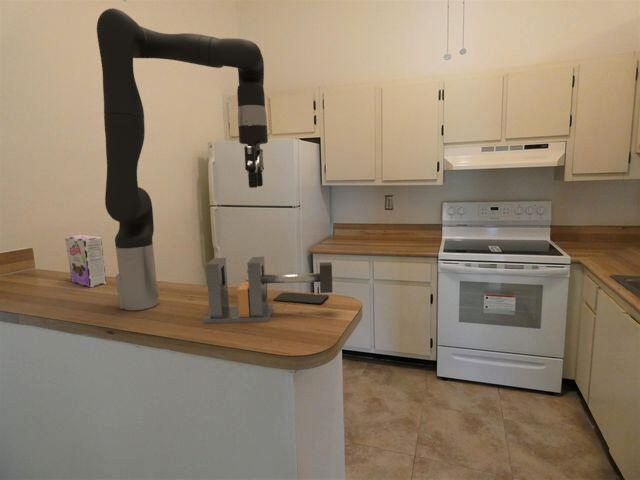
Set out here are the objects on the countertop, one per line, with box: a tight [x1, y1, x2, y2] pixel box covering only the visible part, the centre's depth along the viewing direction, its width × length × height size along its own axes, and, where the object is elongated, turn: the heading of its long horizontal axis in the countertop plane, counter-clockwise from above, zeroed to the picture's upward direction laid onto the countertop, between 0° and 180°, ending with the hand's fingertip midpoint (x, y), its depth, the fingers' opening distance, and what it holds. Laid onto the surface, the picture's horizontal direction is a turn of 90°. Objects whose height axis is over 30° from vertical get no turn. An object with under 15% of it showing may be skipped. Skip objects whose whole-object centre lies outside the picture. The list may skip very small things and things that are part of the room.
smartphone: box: [273, 292, 329, 306], centre depth 110 cm, size 7×1×15 cm
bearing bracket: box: [202, 256, 274, 324], centre depth 97 cm, size 16×9×14 cm, turn 90°
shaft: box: [262, 261, 333, 294], centre depth 96 cm, size 18×3×7 cm, turn 90°
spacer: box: [236, 281, 251, 317], centre depth 97 cm, size 2×7×7 cm, turn 0°
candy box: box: [65, 234, 107, 288], centre depth 132 cm, size 14×6×16 cm, turn 55°
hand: (256, 186), depth 104 cm, fingers open, 8 cm apart
